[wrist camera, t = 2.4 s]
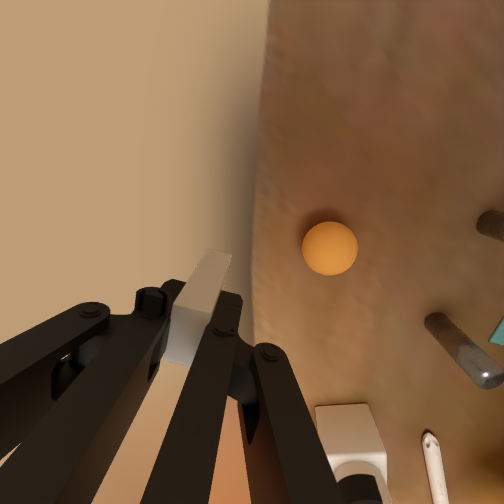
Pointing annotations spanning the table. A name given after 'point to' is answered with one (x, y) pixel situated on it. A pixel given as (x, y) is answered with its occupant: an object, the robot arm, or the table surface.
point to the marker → (435, 469)
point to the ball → (329, 248)
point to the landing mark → (498, 334)
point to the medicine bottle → (354, 452)
